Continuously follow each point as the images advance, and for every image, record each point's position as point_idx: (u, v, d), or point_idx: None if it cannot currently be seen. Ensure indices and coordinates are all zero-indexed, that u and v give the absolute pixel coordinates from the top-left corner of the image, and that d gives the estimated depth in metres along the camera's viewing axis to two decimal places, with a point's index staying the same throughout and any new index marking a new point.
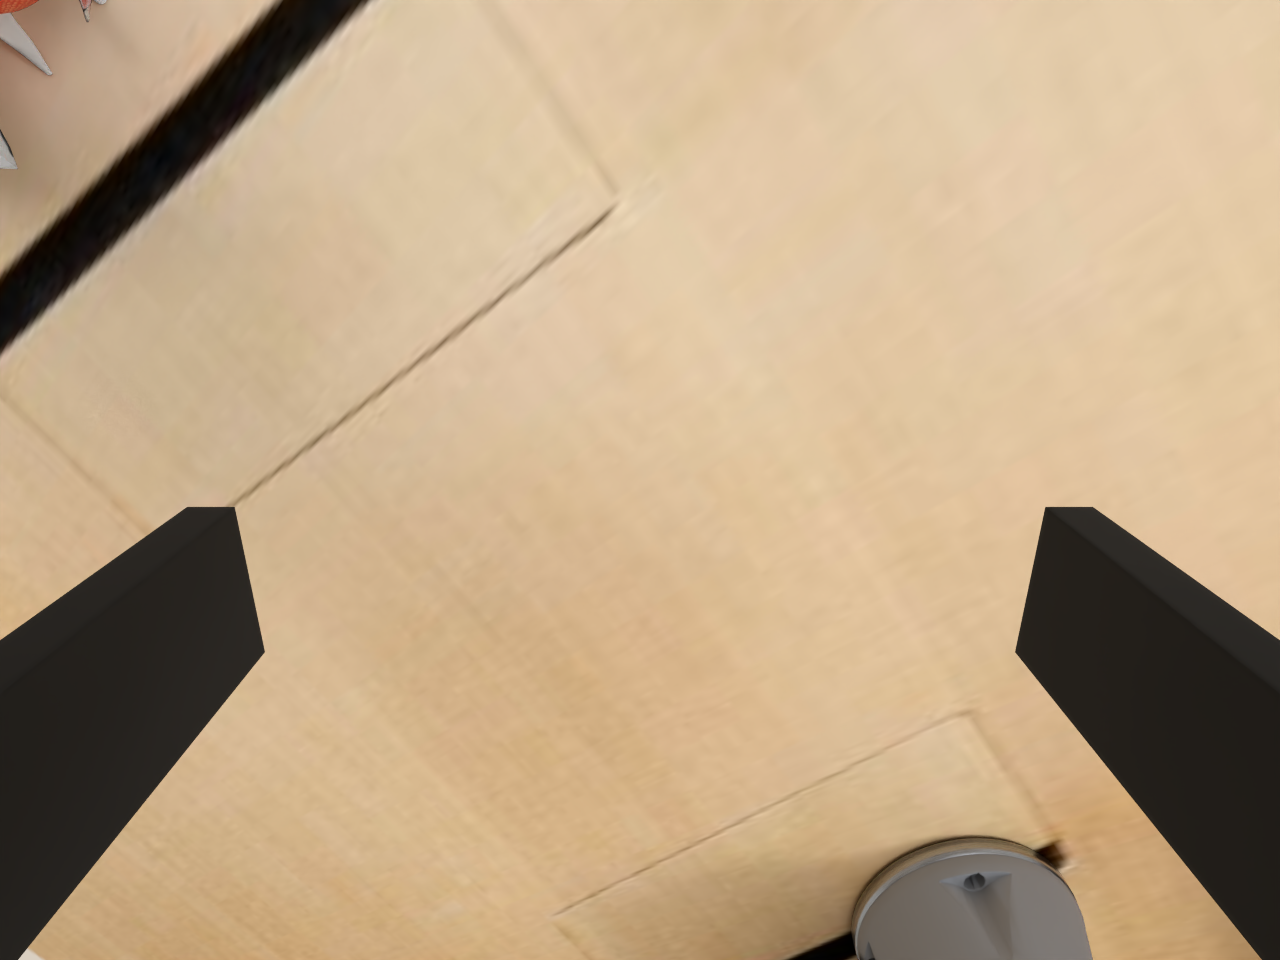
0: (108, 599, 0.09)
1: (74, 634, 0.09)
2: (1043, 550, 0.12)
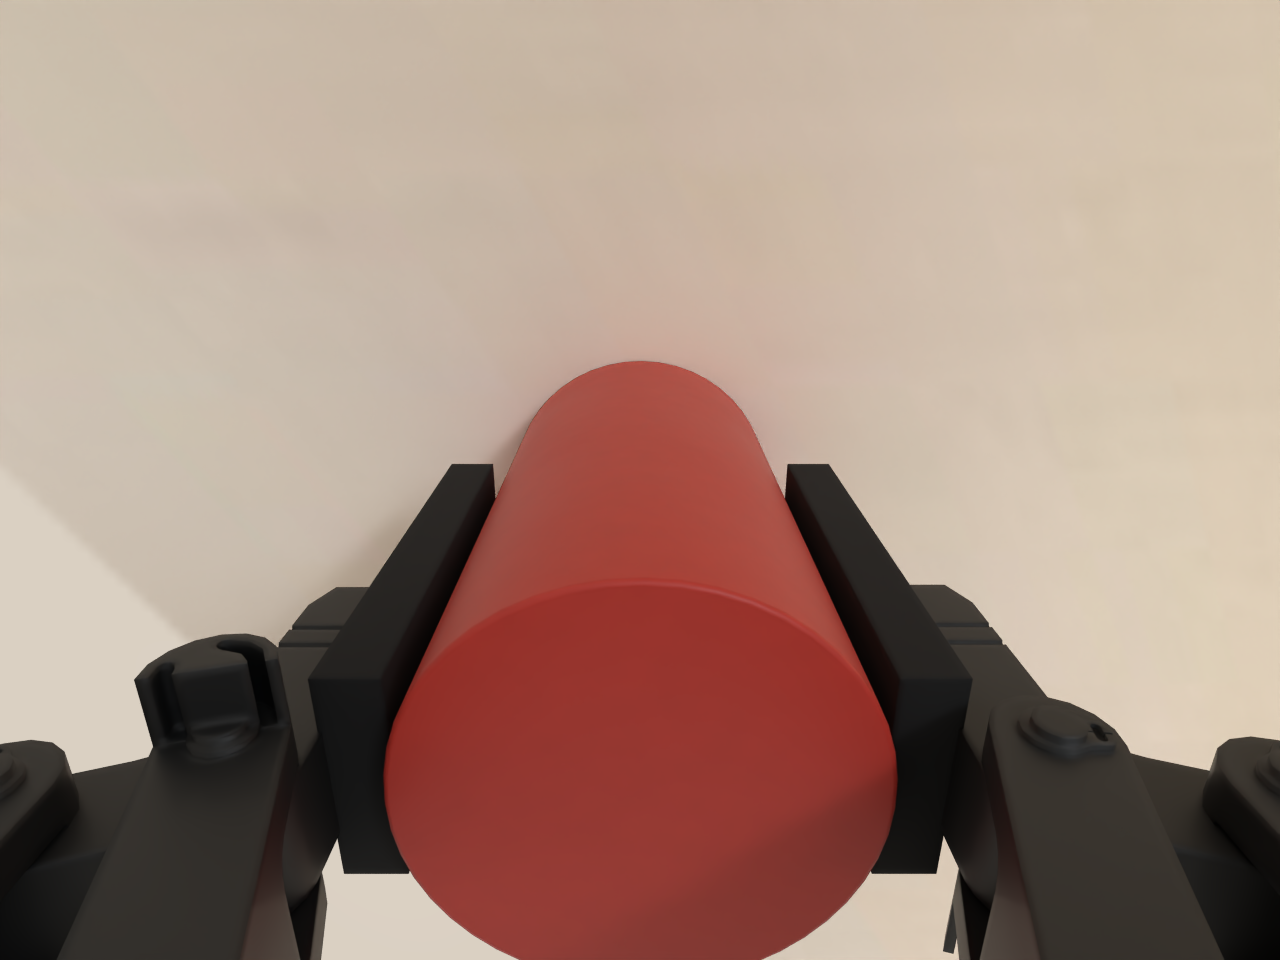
0: (449, 531, 0.11)
1: (445, 555, 0.11)
2: (787, 502, 0.14)
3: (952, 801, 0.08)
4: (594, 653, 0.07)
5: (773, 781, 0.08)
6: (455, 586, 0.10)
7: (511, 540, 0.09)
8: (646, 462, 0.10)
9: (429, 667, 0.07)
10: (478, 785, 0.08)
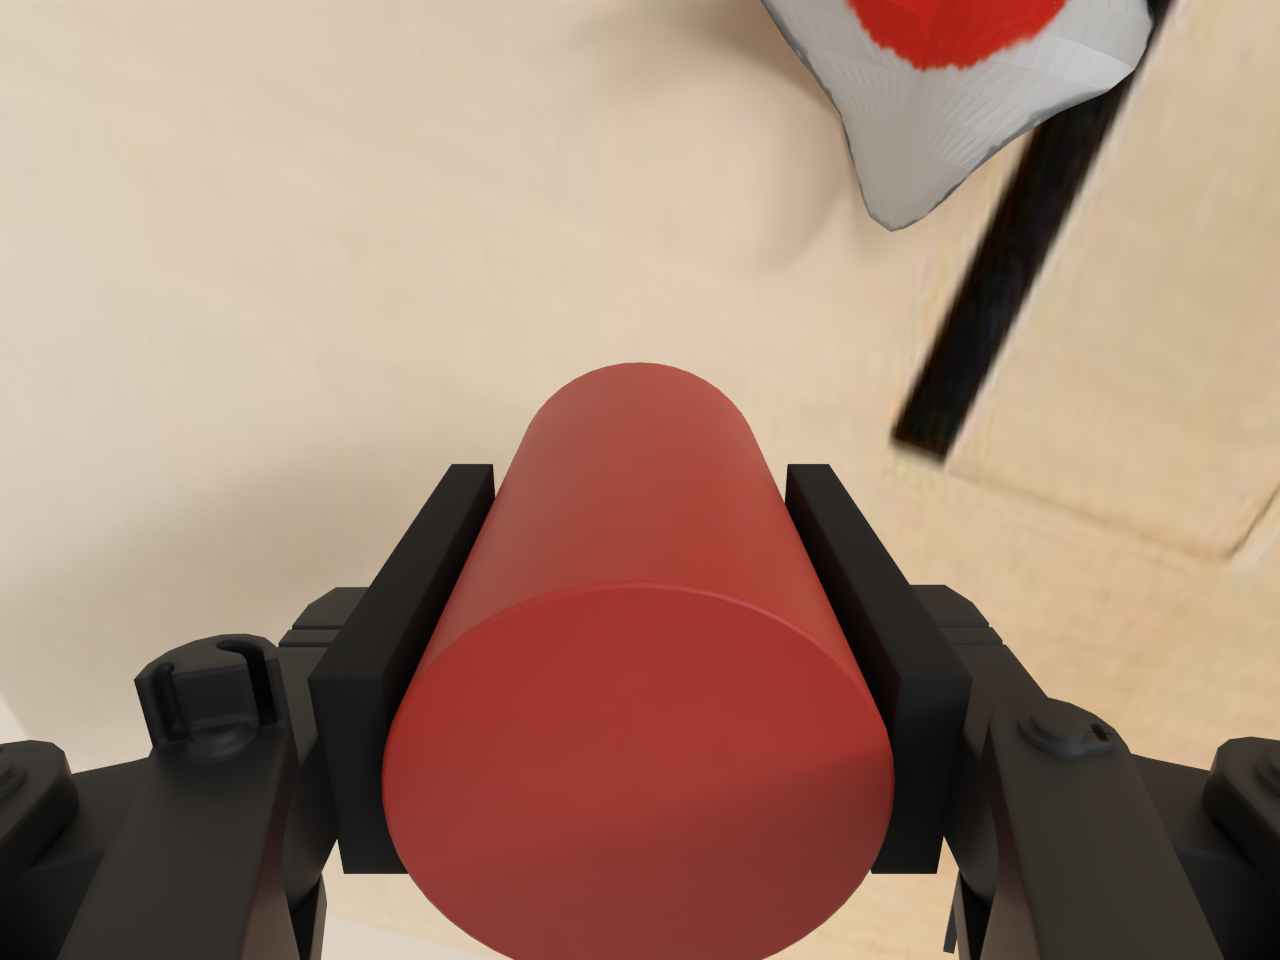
0: (449, 531, 0.11)
1: (445, 555, 0.11)
2: (787, 502, 0.14)
3: (952, 801, 0.08)
4: (591, 656, 0.07)
5: (771, 783, 0.08)
6: None
7: (509, 542, 0.09)
8: (644, 464, 0.10)
9: (427, 669, 0.07)
10: (476, 788, 0.08)
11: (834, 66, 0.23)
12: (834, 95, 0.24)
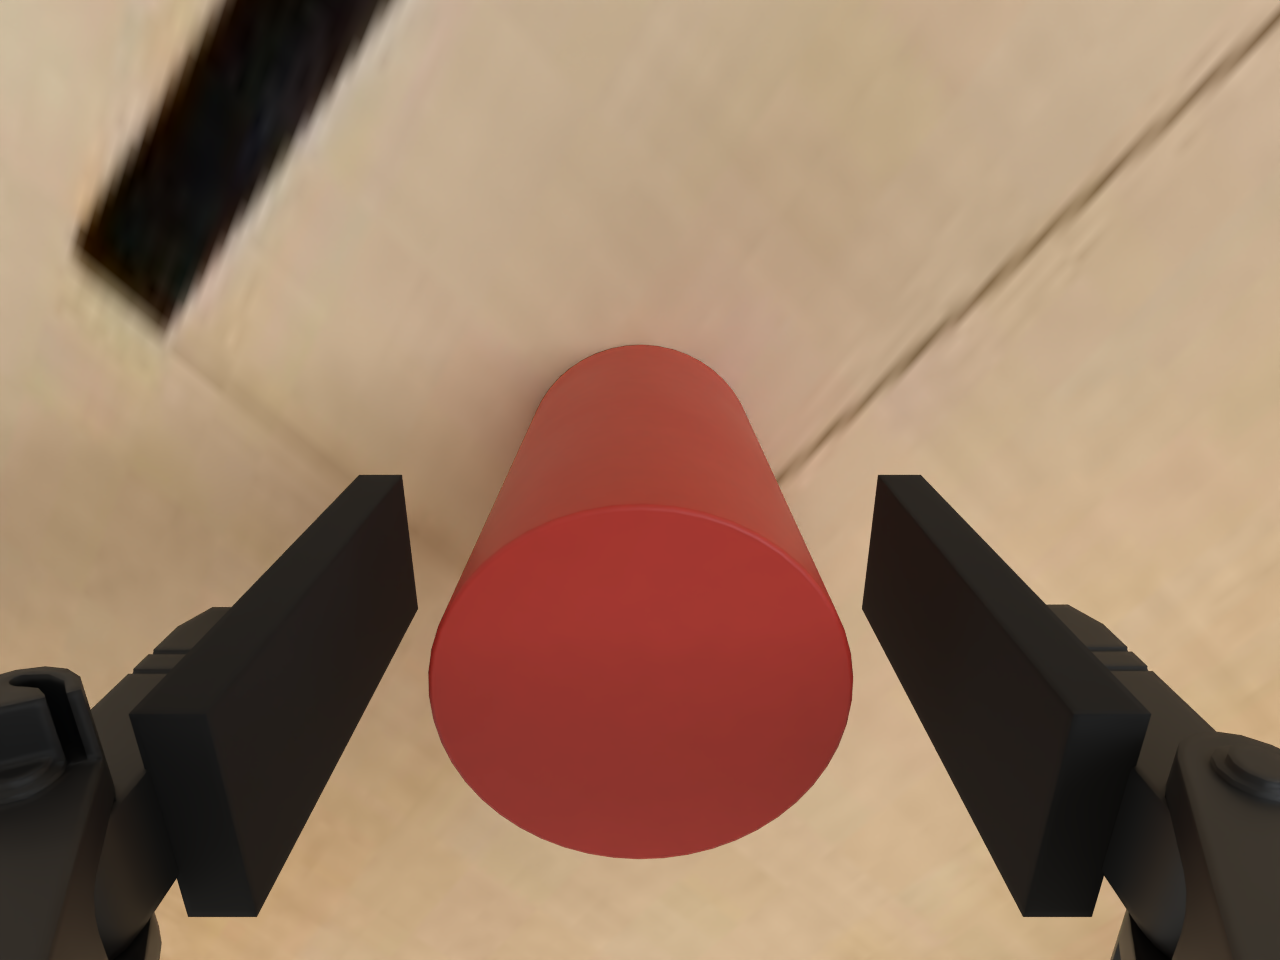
0: (333, 547, 0.11)
1: (320, 574, 0.10)
2: (877, 514, 0.14)
3: (1119, 842, 0.08)
4: (602, 567, 0.09)
5: (750, 678, 0.10)
6: None
7: (532, 485, 0.11)
8: (646, 423, 0.12)
9: (468, 579, 0.09)
10: (507, 681, 0.10)
11: None
12: None
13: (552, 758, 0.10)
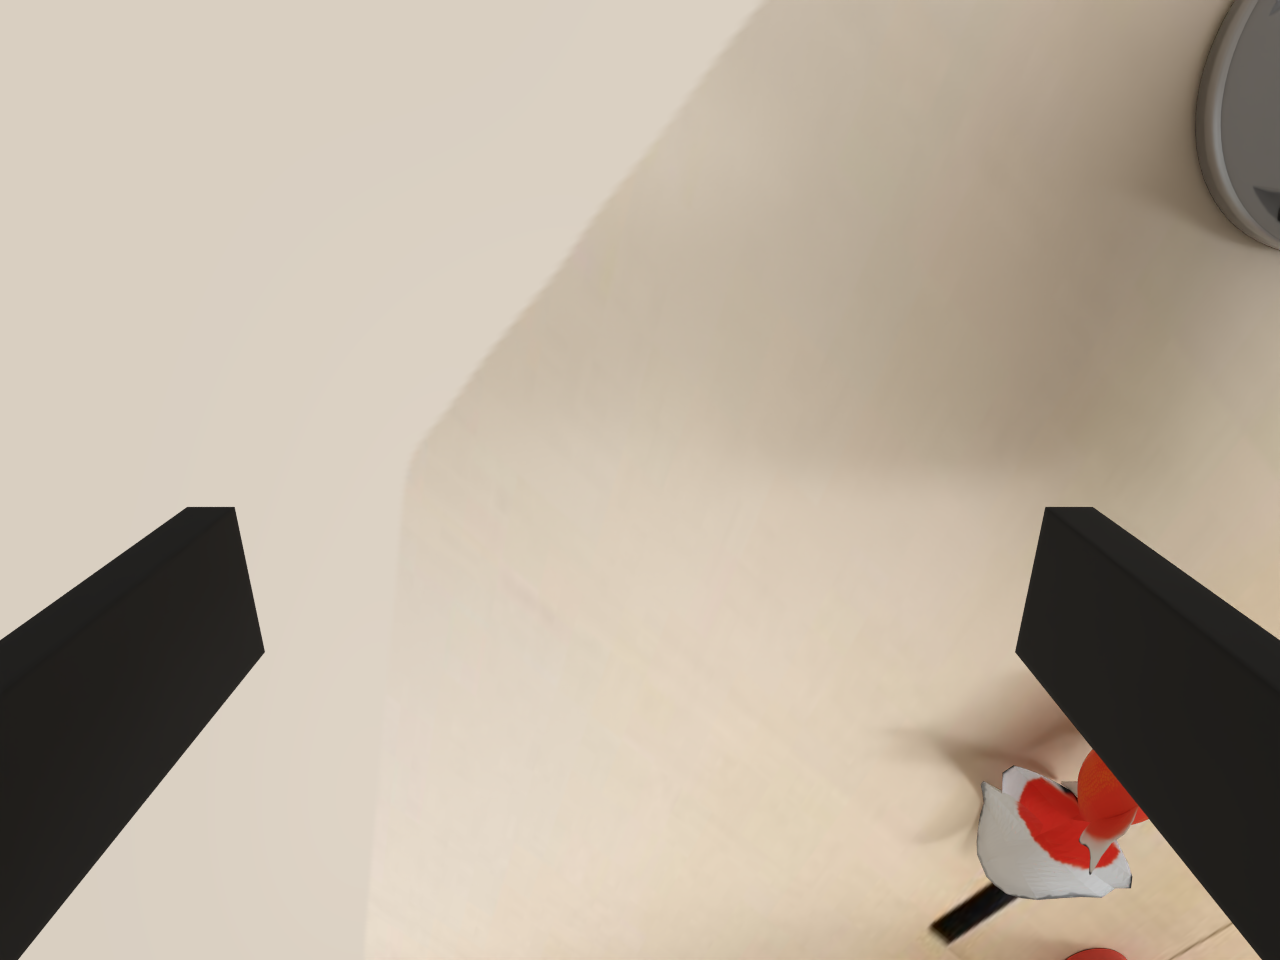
0: (108, 599, 0.09)
1: (74, 634, 0.09)
2: (1043, 550, 0.12)
3: None
4: None
5: None
6: None
7: None
8: None
9: None
10: None
11: (994, 800, 0.48)
12: (987, 801, 0.49)
13: None
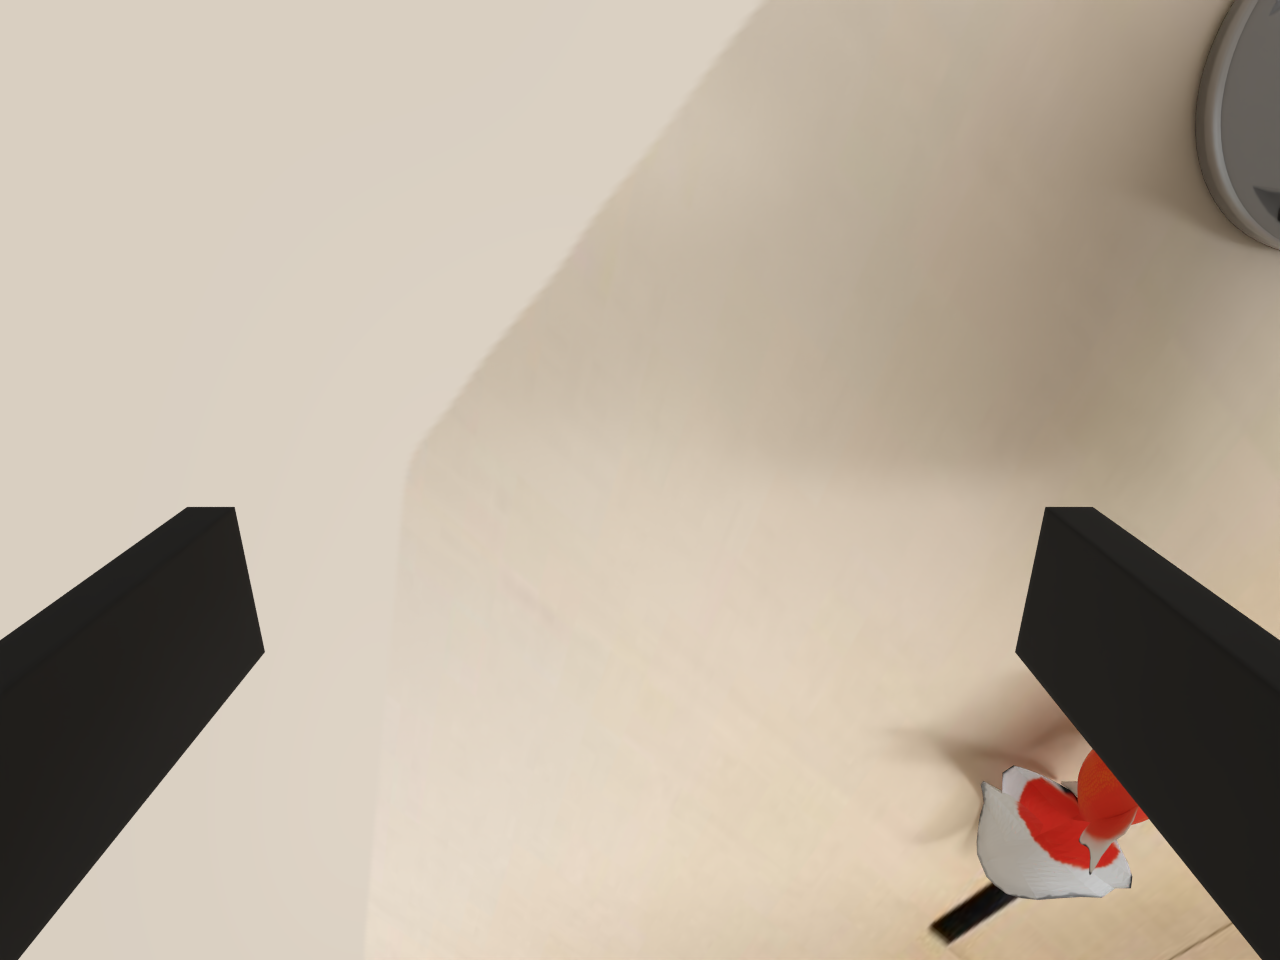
0: (108, 599, 0.09)
1: (74, 634, 0.09)
2: (1043, 550, 0.12)
3: None
4: None
5: None
6: None
7: None
8: None
9: None
10: None
11: (994, 800, 0.48)
12: (987, 801, 0.49)
13: None
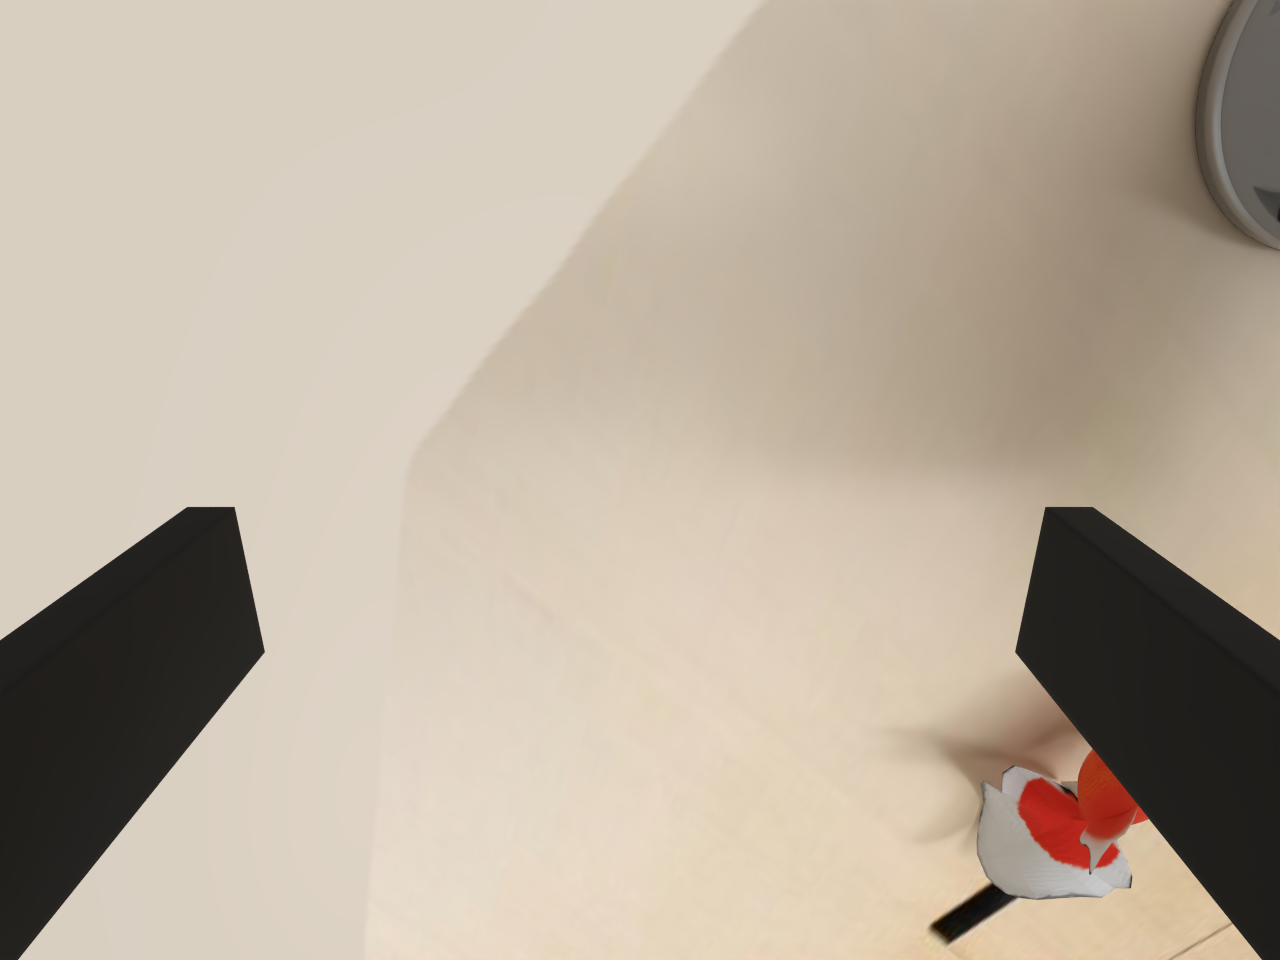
0: (108, 599, 0.09)
1: (74, 634, 0.09)
2: (1043, 550, 0.12)
3: None
4: None
5: None
6: None
7: None
8: None
9: None
10: None
11: (994, 800, 0.48)
12: (987, 801, 0.49)
13: None
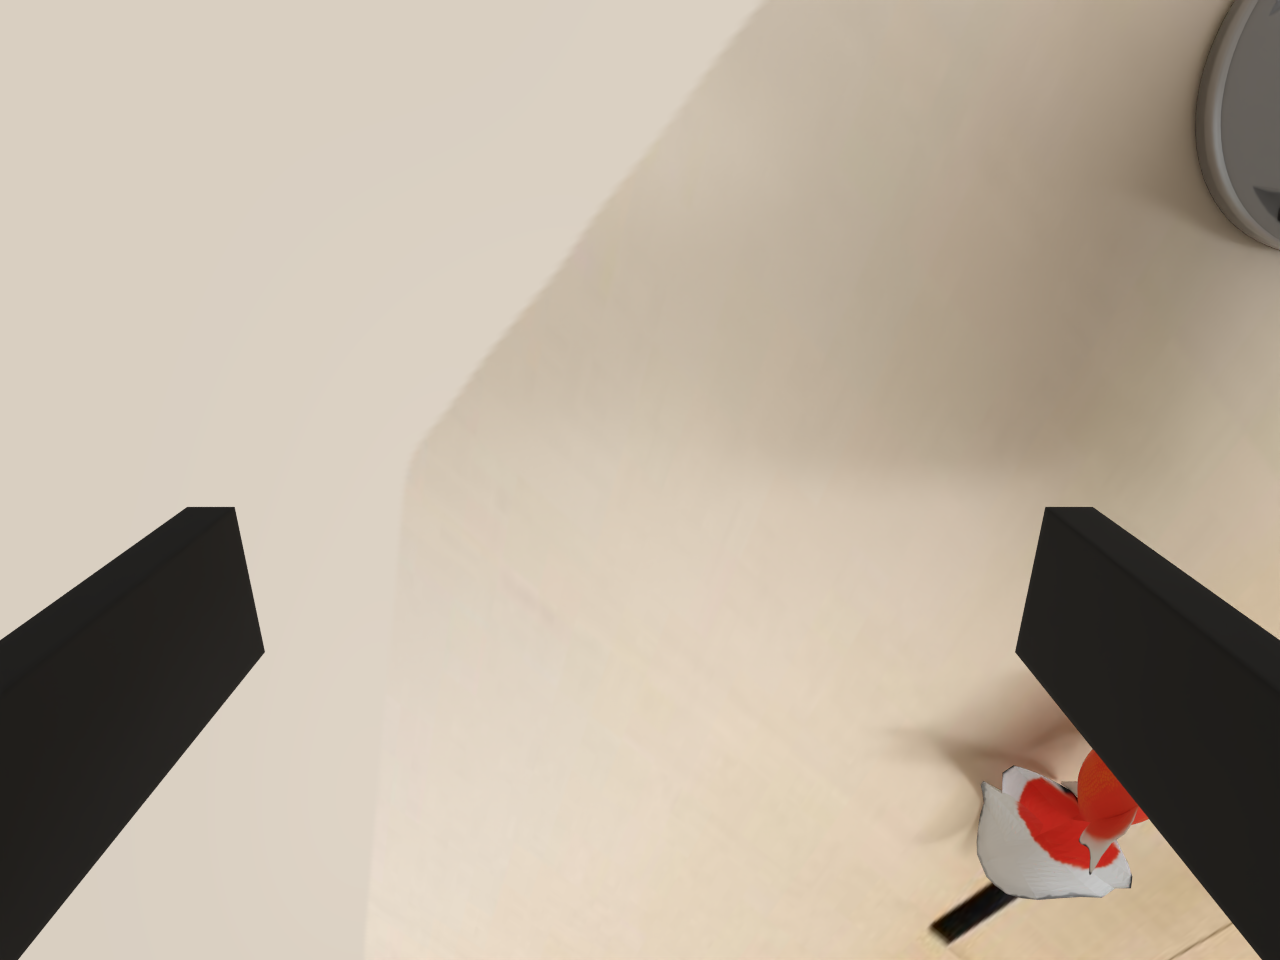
0: (108, 599, 0.09)
1: (74, 634, 0.09)
2: (1043, 550, 0.12)
3: None
4: None
5: None
6: None
7: None
8: None
9: None
10: None
11: (994, 800, 0.48)
12: (987, 801, 0.49)
13: None
